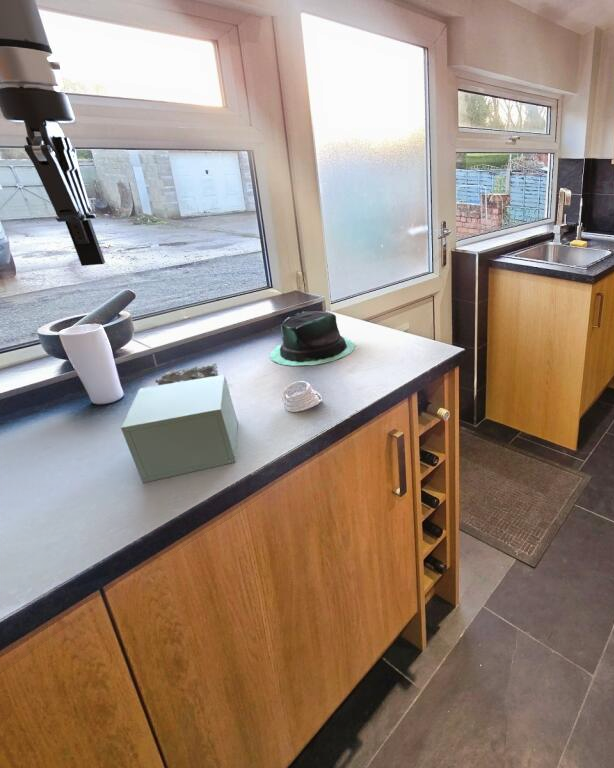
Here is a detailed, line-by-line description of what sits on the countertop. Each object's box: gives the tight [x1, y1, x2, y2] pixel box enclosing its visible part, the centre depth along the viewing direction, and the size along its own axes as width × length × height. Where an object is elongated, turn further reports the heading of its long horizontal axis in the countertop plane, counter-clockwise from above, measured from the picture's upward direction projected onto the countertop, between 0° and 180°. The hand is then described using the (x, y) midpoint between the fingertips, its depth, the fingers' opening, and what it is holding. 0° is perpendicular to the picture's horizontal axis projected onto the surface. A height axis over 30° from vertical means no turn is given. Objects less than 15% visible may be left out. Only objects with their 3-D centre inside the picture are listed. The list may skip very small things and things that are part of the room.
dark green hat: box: [269, 310, 356, 367], centre depth 124 cm, size 15×19×20 cm
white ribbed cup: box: [281, 380, 323, 413], centre depth 96 cm, size 8×7×5 cm
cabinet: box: [120, 374, 239, 484], centre depth 81 cm, size 15×13×10 cm
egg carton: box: [155, 362, 219, 386], centre depth 104 cm, size 11×8×4 cm
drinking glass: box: [58, 323, 125, 405], centre depth 97 cm, size 7×7×15 cm
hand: (93, 263), depth 77 cm, fingers closed
